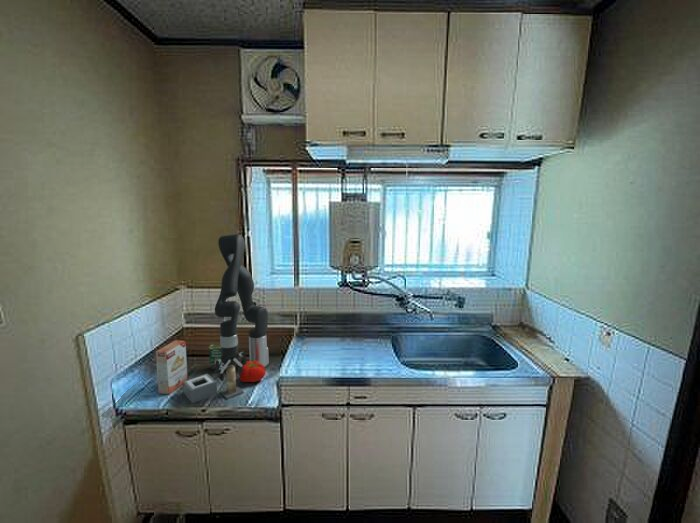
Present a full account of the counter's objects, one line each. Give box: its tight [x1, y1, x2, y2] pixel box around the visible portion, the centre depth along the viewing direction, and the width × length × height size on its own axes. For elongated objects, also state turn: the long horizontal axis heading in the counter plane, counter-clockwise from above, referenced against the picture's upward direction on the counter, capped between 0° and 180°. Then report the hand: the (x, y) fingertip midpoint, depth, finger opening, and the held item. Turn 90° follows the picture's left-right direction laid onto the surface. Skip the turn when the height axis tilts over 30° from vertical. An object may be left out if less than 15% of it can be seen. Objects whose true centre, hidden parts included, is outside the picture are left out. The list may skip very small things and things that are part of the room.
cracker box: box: [155, 339, 189, 395], centre depth 158 cm, size 14×6×21 cm, turn 172°
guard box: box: [182, 373, 218, 404], centre depth 153 cm, size 11×11×6 cm
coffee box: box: [208, 344, 225, 370], centre depth 177 cm, size 8×3×13 cm, turn 88°
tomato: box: [238, 360, 266, 383], centre depth 166 cm, size 14×13×9 cm
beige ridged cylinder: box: [225, 364, 237, 393], centre depth 154 cm, size 4×4×12 cm
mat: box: [219, 384, 245, 400], centre depth 155 cm, size 8×8×1 cm
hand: (231, 376), depth 154 cm, fingers open, 8 cm apart
